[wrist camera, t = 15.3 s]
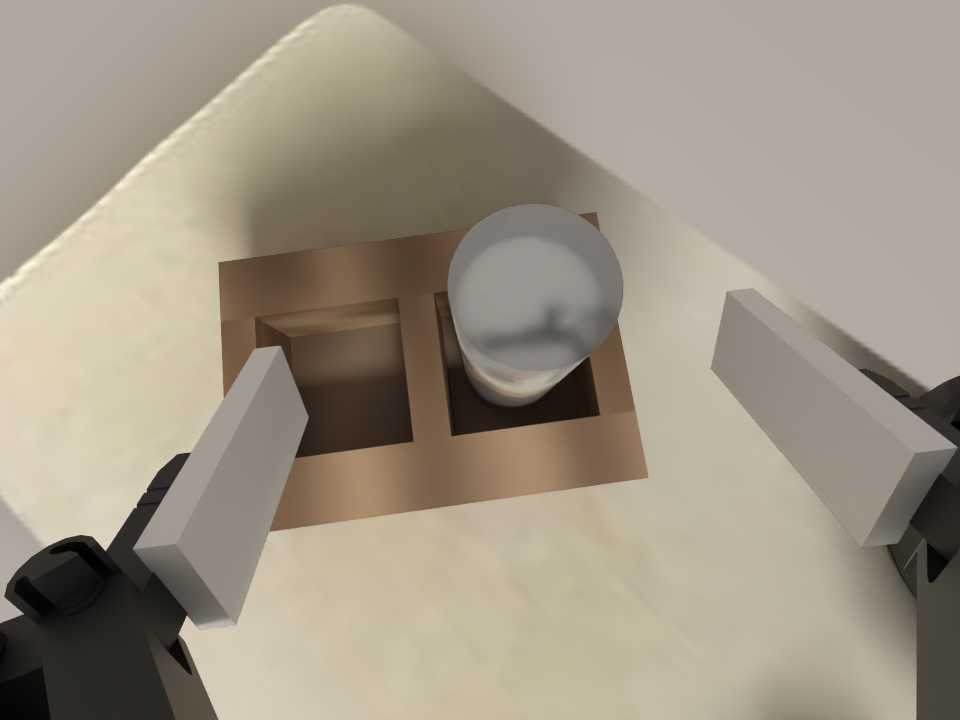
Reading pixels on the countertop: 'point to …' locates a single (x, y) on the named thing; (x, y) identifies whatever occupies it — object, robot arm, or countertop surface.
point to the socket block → (411, 388)
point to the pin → (531, 301)
